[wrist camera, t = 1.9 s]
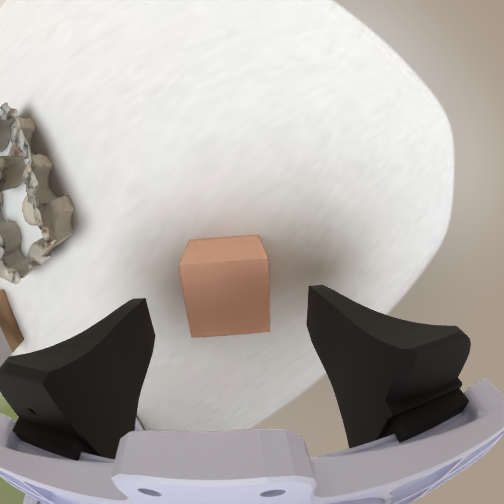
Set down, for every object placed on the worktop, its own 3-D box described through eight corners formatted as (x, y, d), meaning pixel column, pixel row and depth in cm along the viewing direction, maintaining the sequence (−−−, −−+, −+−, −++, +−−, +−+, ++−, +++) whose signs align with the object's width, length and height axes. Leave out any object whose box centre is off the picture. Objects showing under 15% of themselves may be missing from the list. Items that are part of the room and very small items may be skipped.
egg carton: (91, 228, 15) (58, 249, 11) (30, 275, 16) (0, 299, 12) (35, 98, 11) (-2, 91, 8) (-19, 161, 12) (-52, 168, 8)
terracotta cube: (260, 295, 17) (269, 331, 14) (197, 300, 17) (191, 337, 13) (258, 234, 16) (268, 258, 12) (189, 239, 16) (178, 265, 12)
